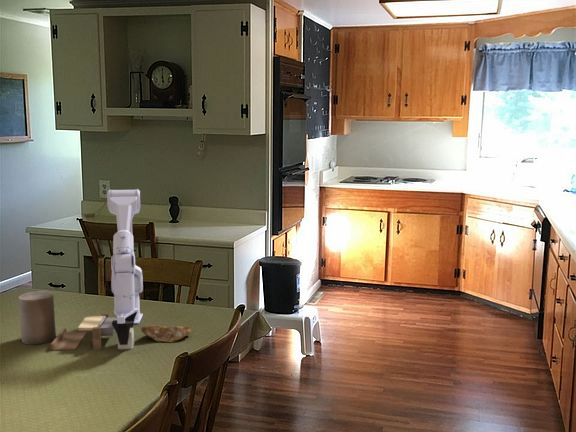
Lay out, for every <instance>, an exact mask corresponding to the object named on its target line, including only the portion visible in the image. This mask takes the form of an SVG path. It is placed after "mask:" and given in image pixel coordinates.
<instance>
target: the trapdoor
mask: <svg viewBox="0 0 576 432" xmlns="http://www.w3.org/2000/svg"><path fill="white" fill-rule="evenodd" d="M105 318H106V316H102V315H86V316H85V317H84V318H83V320H82V321H81V323H80V324H79V326H77V332H86V331H92V328H93V327H101V337H113V336H114V333H116V330H115V329H114V327H113V325H112V321H113V320H117V316H116V317H115V316H114V317H110V316H109V317H107V318H106V319H105ZM104 320H105V321H104ZM103 322H104V323H103ZM102 323H103V324H102Z"/></svg>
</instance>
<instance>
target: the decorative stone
mask: <svg viewBox="0 0 576 432" xmlns="http://www.w3.org/2000/svg"><path fill="white" fill-rule="evenodd" d="M141 332H142V333H143V334H144V335H146V336H148V337H149V338H151V339H153V340H154V341H156V342H158V343H159V342H160V343H161V342H164V343H175V342H177V341H179V340H181V339H183V338H185V337H186V336H188V335H190V334H191V333H192V329H191V328H190V327H189V326H180V325H177V326H163V325H158V324H150V325H144V326H142V327H141Z"/></svg>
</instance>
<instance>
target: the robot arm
mask: <svg viewBox="0 0 576 432" xmlns="http://www.w3.org/2000/svg"><path fill="white" fill-rule="evenodd" d="M106 193H107V194H106V195H107V197H106V198H107V200H106V202H107V203H106V204H107V208H108V211H109V213H110V214H112V215H115V216H116V225H117V226H116V227H117V228H116V229H117V232H115V233H114V234H113V236H112V237H113V241H112V244H113V245H112V246H113V247H112V249H113V251H112V253H113V255H111V257H110V258H111V259H110V264H111V280H110V281H111V283H110V284H111V285H110V286H111V293H113V297H114V302H113V303H114V309H113V314H114V315H115V316H116V317H117V320H113V321H112V325H113V327H114V329H115V333H116V335H117V336H118V337H117V341H118V340H119V343H120V345H127V344H128V340H129V332H130V328H134V325H135V324H140V322H141V319H142V318H143V315H144V314H143V313H141V311H140V310H141V309H140V308H141V307H140V305H141V303H140V293H142V292H143V291H144V285H143V283H144V282H143V281H144V280H143V279H144V278H143V270H142V268H141V267H140V266H138V265H136V256H135V249H134V247H135V246H134V244H135V243H134V235H133V218H134V216H135V215H136V214H139V213H140V211H141V190H140V189H139V188H137V189H108V191H107V192H106Z"/></svg>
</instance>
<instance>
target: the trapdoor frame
mask: <svg viewBox="0 0 576 432" xmlns="http://www.w3.org/2000/svg"><path fill="white" fill-rule="evenodd" d="M100 316H106V318H107V317H110V313H109V312H102V313H101V315H100ZM106 318H105V319H106ZM104 321H105V320H104ZM103 323H104V322H103ZM103 323H102V324H103ZM91 331H92V348H93V349H92V350H101V349H102V336H101V327H93V328H92V330H91ZM86 334H87V331H68V330H67V327H63V328H62V329H61V330H60V332H59V333H58V334H57V335H56V338H55V339H54V340H53V341H51V343H50V351H76V349H77V348H78V346H79V345H80V343H81V342H82V341H83V339H84V337H85V336H86Z"/></svg>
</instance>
